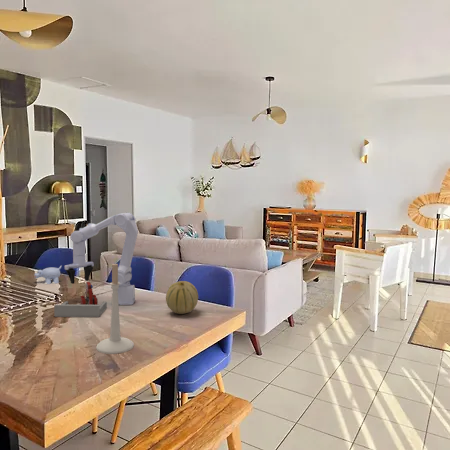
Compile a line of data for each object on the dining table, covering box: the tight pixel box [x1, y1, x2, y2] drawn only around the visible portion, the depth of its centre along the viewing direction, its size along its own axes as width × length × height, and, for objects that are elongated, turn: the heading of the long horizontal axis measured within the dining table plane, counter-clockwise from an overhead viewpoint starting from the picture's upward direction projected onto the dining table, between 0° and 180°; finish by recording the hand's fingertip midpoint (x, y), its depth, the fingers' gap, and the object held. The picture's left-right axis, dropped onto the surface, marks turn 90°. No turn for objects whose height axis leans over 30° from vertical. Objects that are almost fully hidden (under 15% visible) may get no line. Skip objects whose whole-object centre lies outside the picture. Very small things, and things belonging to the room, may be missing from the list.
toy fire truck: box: [80, 281, 98, 305], centre depth 195 cm, size 7×12×10 cm, turn 25°
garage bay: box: [53, 300, 108, 318], centre depth 184 cm, size 19×14×5 cm
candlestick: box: [96, 263, 135, 355], centre depth 144 cm, size 13×13×30 cm
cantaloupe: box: [165, 280, 199, 315], centre depth 185 cm, size 15×15×15 cm
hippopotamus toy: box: [34, 264, 63, 285], centre depth 241 cm, size 11×15×10 cm
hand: (79, 282), depth 203 cm, fingers open, 7 cm apart
